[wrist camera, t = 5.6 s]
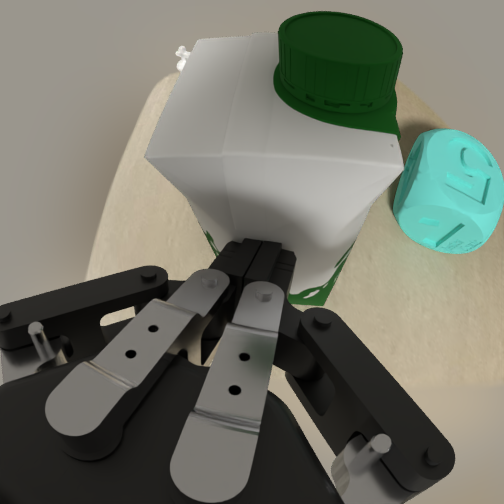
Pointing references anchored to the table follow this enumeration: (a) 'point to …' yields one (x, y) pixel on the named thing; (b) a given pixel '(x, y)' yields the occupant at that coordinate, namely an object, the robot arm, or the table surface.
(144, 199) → the table surface
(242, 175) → the soya milk
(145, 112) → the table surface
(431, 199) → the decorative dice
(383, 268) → the table surface
